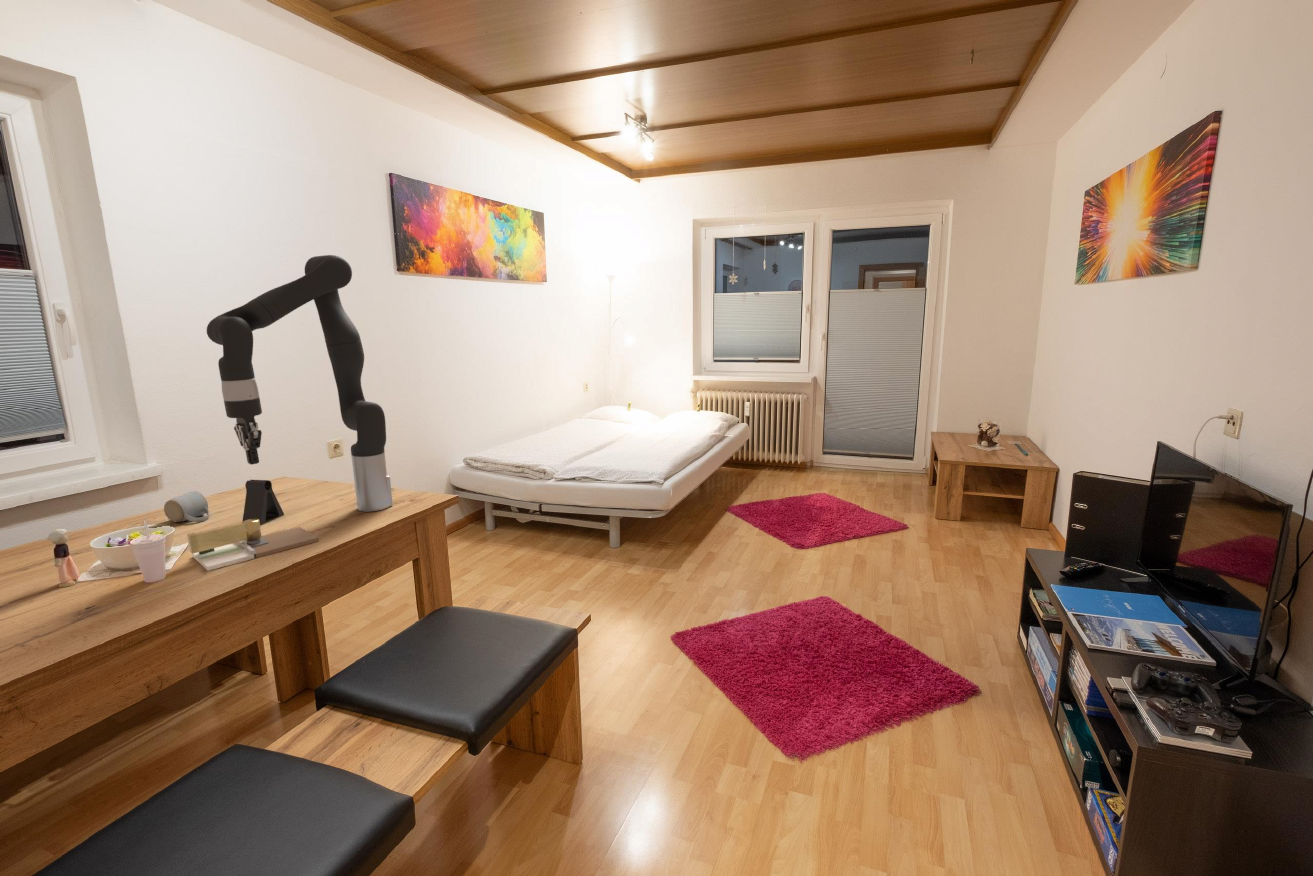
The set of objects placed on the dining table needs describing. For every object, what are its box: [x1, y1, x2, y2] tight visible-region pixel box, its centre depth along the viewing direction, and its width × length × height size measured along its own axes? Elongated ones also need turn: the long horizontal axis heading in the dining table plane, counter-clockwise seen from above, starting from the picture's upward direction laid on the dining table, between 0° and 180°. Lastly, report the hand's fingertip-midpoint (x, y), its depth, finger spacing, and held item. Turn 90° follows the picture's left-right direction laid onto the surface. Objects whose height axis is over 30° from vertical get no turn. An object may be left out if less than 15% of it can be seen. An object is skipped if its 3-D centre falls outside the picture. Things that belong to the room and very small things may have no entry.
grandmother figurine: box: [46, 528, 81, 588], centre depth 135 cm, size 8×4×13 cm, turn 44°
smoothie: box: [129, 520, 167, 583], centre depth 136 cm, size 6×6×14 cm
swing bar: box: [186, 519, 263, 554], centre depth 150 cm, size 15×4×5 cm, turn 140°
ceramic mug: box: [163, 490, 211, 523], centre depth 177 cm, size 11×8×8 cm
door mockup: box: [191, 526, 320, 571], centre depth 154 cm, size 24×13×4 cm, turn 139°
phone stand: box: [241, 479, 285, 526], centre depth 176 cm, size 9×6×12 cm, turn 171°
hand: (253, 463), depth 156 cm, fingers closed
